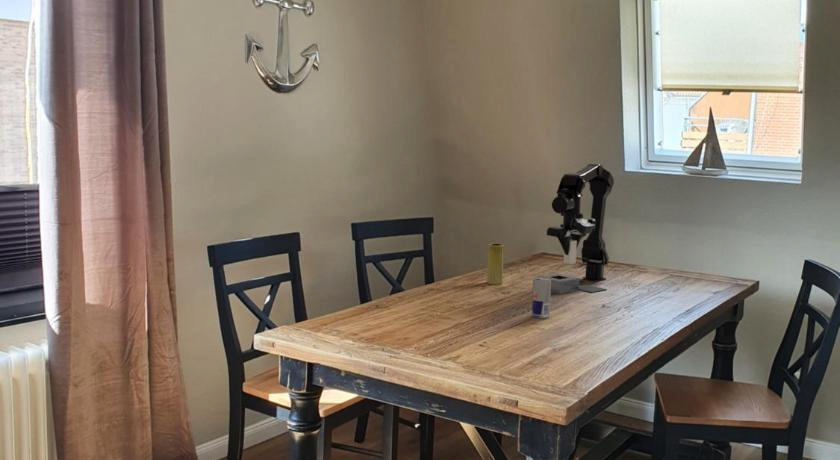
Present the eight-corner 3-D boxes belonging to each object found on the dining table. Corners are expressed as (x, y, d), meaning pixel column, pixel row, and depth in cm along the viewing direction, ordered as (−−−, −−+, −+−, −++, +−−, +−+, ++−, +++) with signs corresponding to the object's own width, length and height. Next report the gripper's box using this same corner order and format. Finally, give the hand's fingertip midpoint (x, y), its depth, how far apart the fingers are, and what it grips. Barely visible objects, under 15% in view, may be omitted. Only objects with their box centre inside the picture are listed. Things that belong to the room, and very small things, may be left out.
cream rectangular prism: (569, 261, 304) (570, 239, 303) (575, 263, 302) (576, 240, 301) (563, 262, 302) (564, 240, 301) (570, 264, 300) (570, 241, 299)
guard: (557, 285, 310) (558, 273, 309) (579, 290, 302) (579, 278, 302) (538, 289, 304) (538, 276, 303) (559, 294, 296) (560, 281, 295)
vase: (503, 281, 315) (504, 243, 313) (503, 285, 309) (504, 246, 307) (486, 281, 316) (487, 242, 314) (486, 284, 310) (487, 245, 308)
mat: (589, 286, 310) (589, 285, 310) (606, 290, 304) (606, 289, 304) (574, 288, 305) (574, 287, 305) (591, 293, 299) (591, 291, 299)
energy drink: (530, 314, 267) (531, 276, 266) (547, 314, 268) (548, 276, 266) (534, 318, 262) (535, 280, 260) (551, 318, 262) (552, 280, 261)
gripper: (570, 215, 287) (568, 261, 290) (607, 210, 299) (605, 255, 301) (546, 211, 296) (544, 255, 299) (583, 207, 307) (581, 250, 310)
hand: (570, 254), depth 302 cm, fingers closed on cream rectangular prism, 3 cm apart
